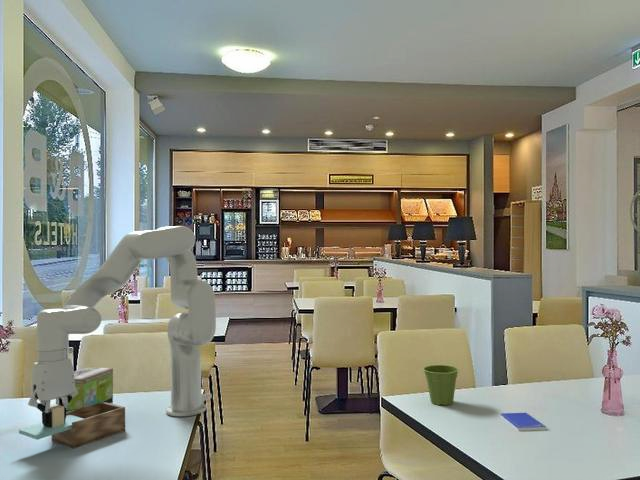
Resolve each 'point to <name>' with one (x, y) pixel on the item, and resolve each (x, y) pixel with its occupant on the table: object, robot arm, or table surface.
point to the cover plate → (50, 431)
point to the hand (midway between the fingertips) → (54, 423)
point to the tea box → (92, 387)
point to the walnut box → (92, 424)
